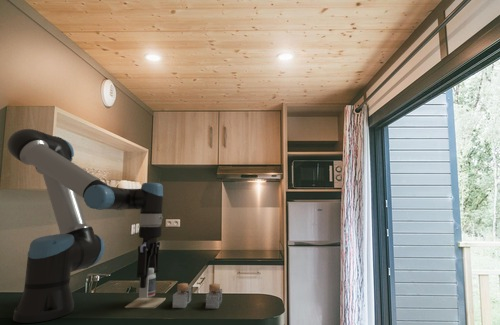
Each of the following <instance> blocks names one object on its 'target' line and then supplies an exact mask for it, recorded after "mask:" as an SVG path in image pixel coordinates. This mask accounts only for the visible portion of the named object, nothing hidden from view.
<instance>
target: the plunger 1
mask: <svg viewBox="0 0 500 325" xmlns="http://www.w3.org/2000/svg"><path fill="white" fill-rule="evenodd" d="M176 286H177V287H176V288H177V289H176V290H177V291H178V290H179V291H181V292H184V291H185V290H188V288H189V283H188V282H187V283H186V282H182V283H178V284H177V285H176Z"/></svg>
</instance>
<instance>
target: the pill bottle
mask: <svg viewBox="0 0 500 325" xmlns="http://www.w3.org/2000/svg"><path fill="white" fill-rule="evenodd" d="M153 273H154V268H149V270H148V276H147V277H149V284H148V298H153V297H154V296H156V283H157V282H156V279H157V276H155V275H154V274H153ZM138 288H139V289H140V284H139V287H138ZM139 289H138V290H139Z"/></svg>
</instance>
